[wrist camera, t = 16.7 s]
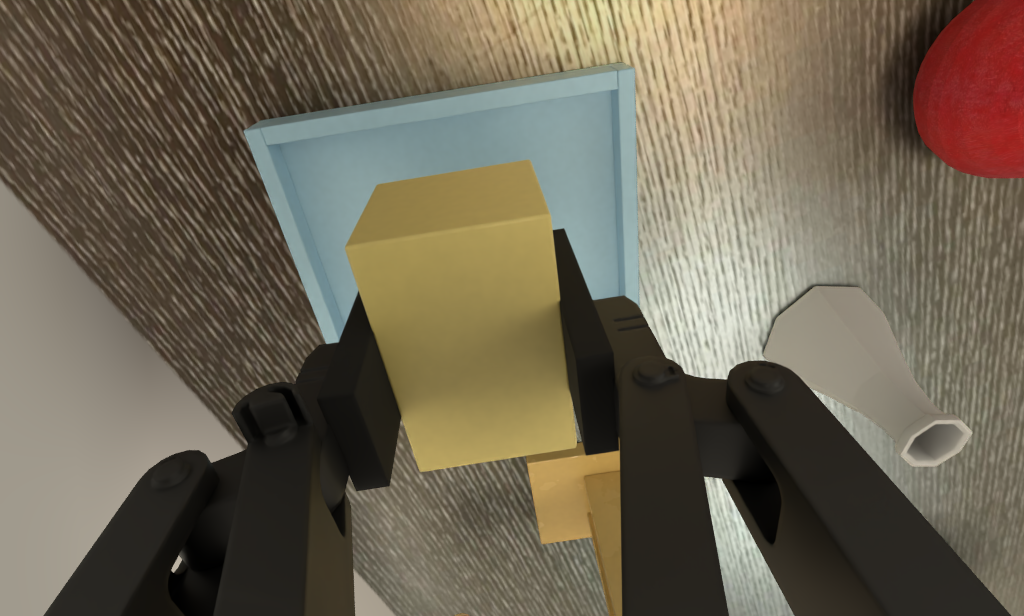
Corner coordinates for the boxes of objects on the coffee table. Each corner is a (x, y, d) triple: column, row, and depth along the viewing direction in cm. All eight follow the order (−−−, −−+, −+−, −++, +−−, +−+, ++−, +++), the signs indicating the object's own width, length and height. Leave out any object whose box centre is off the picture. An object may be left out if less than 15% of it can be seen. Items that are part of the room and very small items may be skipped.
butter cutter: (539, 530, 42) (568, 760, 30) (525, 449, 38) (552, 680, 25) (688, 508, 42) (783, 729, 29) (692, 424, 38) (806, 644, 25)
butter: (555, 355, 19) (577, 449, 15) (430, 375, 19) (418, 473, 15) (530, 157, 15) (550, 213, 11) (375, 183, 15) (342, 247, 11)
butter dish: (344, 349, 32) (336, 372, 30) (260, 120, 25) (242, 130, 24) (629, 305, 32) (640, 325, 30) (622, 61, 25) (635, 67, 23)
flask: (741, 359, 35) (829, 478, 26) (810, 266, 32) (935, 367, 23) (827, 387, 37) (937, 507, 28) (901, 302, 33) (1049, 408, 25)
